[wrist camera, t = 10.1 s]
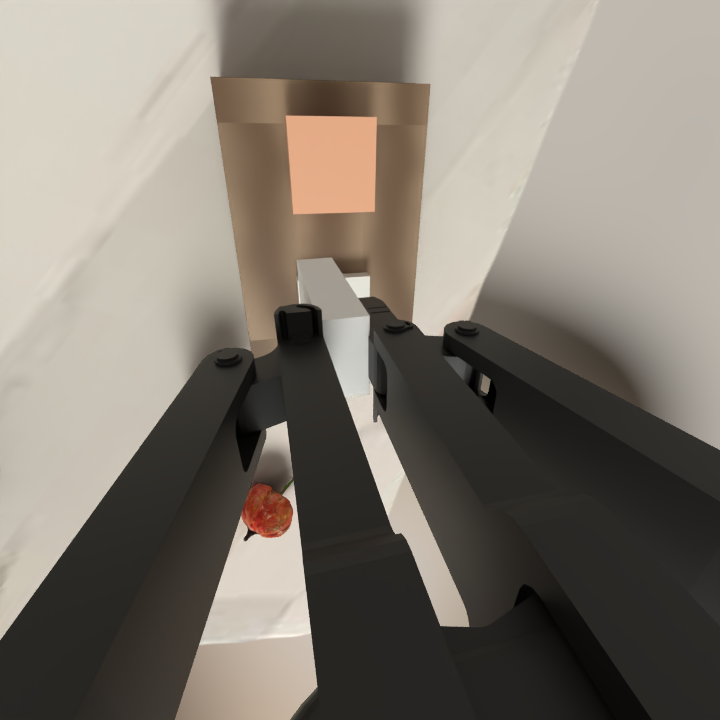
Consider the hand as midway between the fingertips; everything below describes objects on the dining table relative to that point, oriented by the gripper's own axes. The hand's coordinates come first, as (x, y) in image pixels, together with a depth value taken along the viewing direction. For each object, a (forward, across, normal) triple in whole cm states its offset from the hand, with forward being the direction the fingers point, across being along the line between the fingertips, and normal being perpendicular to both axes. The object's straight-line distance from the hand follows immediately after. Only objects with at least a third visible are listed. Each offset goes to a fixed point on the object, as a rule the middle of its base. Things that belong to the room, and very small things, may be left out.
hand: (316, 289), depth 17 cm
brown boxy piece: (+25, +4, -2) cm, 25 cm away
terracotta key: (+23, +4, +4) cm, 24 cm away
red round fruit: (+26, -6, -38) cm, 46 cm away
